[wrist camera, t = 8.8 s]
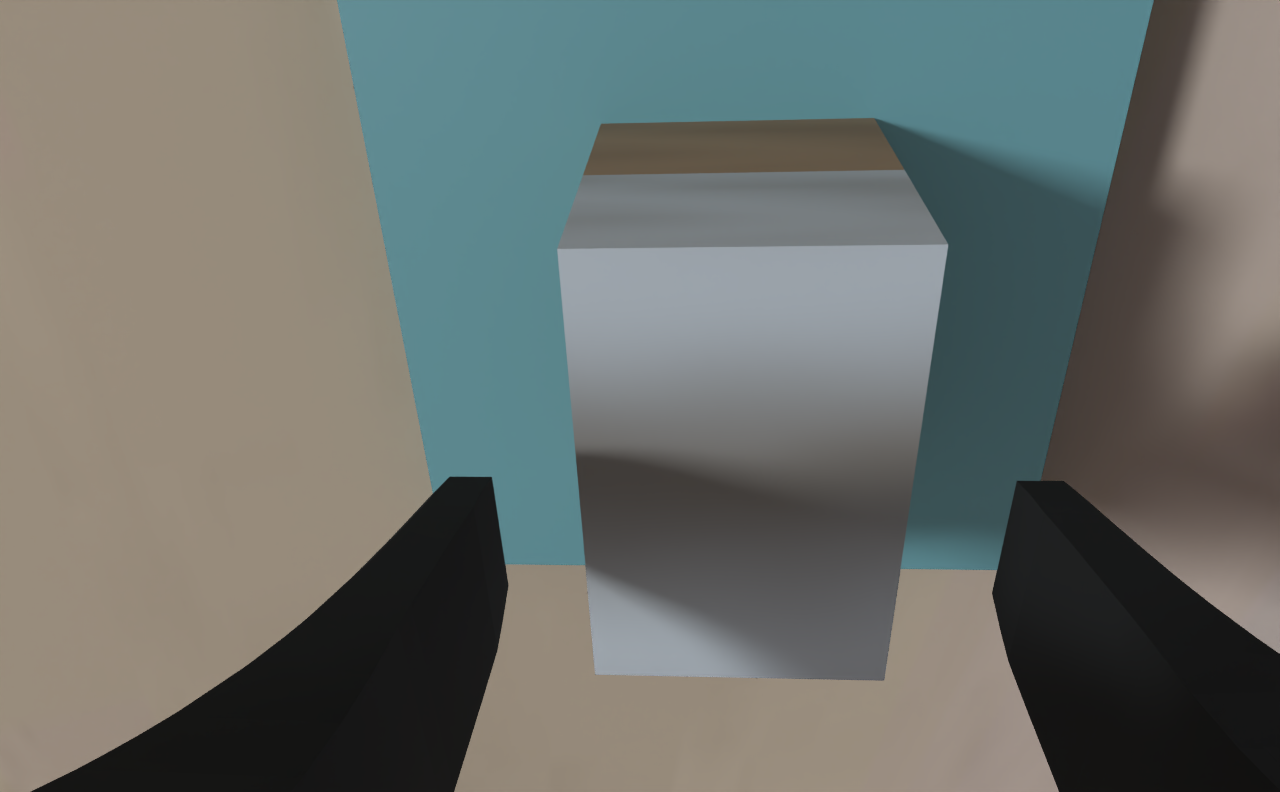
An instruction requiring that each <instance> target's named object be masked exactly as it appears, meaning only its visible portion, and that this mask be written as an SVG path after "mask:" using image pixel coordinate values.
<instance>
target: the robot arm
mask: <svg viewBox="0 0 1280 792" xmlns="http://www.w3.org/2000/svg"><path fill="white" fill-rule="evenodd" d="M507 591H508V580H507V573H506V566H505V560H504V553H503V547H502V540H501V533H500V527H499V520H498V513H497V507H496V500H495V494H494V487H493V480H492V477H451V476H450V477H449V478H448V479H447V480H446V481H445V482H444V483H443V484H442V485H441V486H440V487H439V488H438V489H437V490H436V491H435V492H434V493H433V494H432V495H431V496H430V497H429V498H428V499H427V500H426V501H425V503H424V504H423V505H422V506H421V507H420V508H419V509H418V510H417V511H416V512H415V513H414V514H413V515H412V517H411V518H410V519H409V520H408V521H407V522H406V523H405V524H404V525H403V526H402V527H401V528H400V529H399V530H398V531H397V532H396V533H395V535H394V536H393V537H392V538H391V539H390V540H389V541H388V542H387V543H386V544H385V545H384V546H383V547H382V548H381V549H380V550H379V551H378V552H377V553H376V554H375V555H374V556H373V557H372V558H371V559H370V560H369V561H368V562H367V563H366V564H365V565H364V566H363V567H362V568H361V569H360V570H359V571H358V572H357V573H356V574H355V575H354V576H353V577H352V578H351V579H350V580H349V581H348V582H346V583H345V584H344V585H343V586H342V587H341V588H340V589H339V590H338V591H337V592H336V593H334V594H333V595H332V596H331V597H330V598H329V599H328V600H327V601H326V602H325V603H324V604H322V605H321V606H320V607H319V608H318V609H317V610H316V611H315V612H314V613H313V614H311V615H310V616H309V617H308V618H307V619H306V620H305V621H303V622H302V623H301V624H300V625H299V626H297V627H296V628H295V629H294V630H292V631H291V632H290V633H289V634H287V635H286V636H285V637H284V638H282V639H281V640H280V641H278V642H277V643H276V644H275V645H273V646H272V647H271V648H269V649H268V650H267V651H265V652H264V653H263V654H262V655H260V656H259V657H258V658H256V659H255V660H254V661H252V662H251V663H250V664H248V665H247V666H245V667H244V668H243V669H241V670H240V671H238V672H237V673H235V674H234V675H232V676H231V677H229V678H228V679H226V680H225V681H223V682H222V683H220V684H219V685H217V686H216V687H214V688H213V689H211V690H210V691H208V692H207V693H205V694H204V695H202V696H201V697H199V698H198V699H196V700H195V701H193V702H192V703H190V704H189V705H187V706H186V707H184V708H183V709H181V710H180V711H178V712H177V713H175V714H173V715H172V716H170V717H169V718H167V719H165V720H164V721H162V722H160V723H158V724H157V725H155V726H153V727H152V728H150V729H148V730H147V731H145V732H143V733H142V734H140V735H138V736H137V737H135V738H133V739H131V740H129V741H128V742H126V743H124V744H122V745H120V746H119V747H117V748H115V749H113V750H111V751H110V752H108V753H106V754H104V755H103V756H101V757H99V758H97V759H95V760H93V761H91V762H89V763H88V764H86V765H84V766H82V767H80V768H78V769H76V770H74V771H72V772H70V773H68V774H66V775H64V776H62V777H60V778H58V779H56V780H54V781H52V782H50V783H48V784H46V785H44V786H41V787H39V788H37V789H35V790H33V791H31V792H454V790H455V787H456V784H457V780H458V777H459V774H460V771H461V768H462V764H463V761H464V758H465V755H466V751H467V748H468V745H469V742H470V738H471V735H472V732H473V729H474V725H475V722H476V719H477V716H478V712H479V709H480V706H481V703H482V700H483V696H484V693H485V690H486V686H487V683H488V680H489V676H490V673H491V670H492V666H493V663H494V660H495V656H496V653H497V649H498V644H499V638H500V633H501V627H502V622H503V616H504V609H505V603H506V597H507ZM992 595H993V599H994V604H995V608H996V612H997V617H998V621H999V626H1000V630H1001V634H1002V638H1003V642H1004V646H1005V650H1006V654H1007V657H1008V661H1009V664H1010V666H1011V669H1012V672H1013V675H1014V677H1015V680H1016V682H1017V685H1018V688H1019V690H1020V693H1021V695H1022V698H1023V701H1024V703H1025V706H1026V708H1027V711H1028V714H1029V716H1030V719H1031V721H1032V724H1033V726H1034V729H1035V731H1036V734H1037V736H1038V739H1039V742H1040V744H1041V747H1042V749H1043V752H1044V754H1045V757H1046V759H1047V762H1048V764H1049V767H1050V770H1051V772H1052V775H1053V777H1054V780H1055V782H1056V785H1057V787H1058V790H1059V792H1280V654H1279V653H1278V652H1276V651H1275V650H1273V649H1272V648H1270V647H1269V646H1267V645H1266V644H1265V643H1263V642H1262V641H1260V640H1259V639H1257V638H1256V637H1255V636H1253V635H1252V634H1251V633H1249V632H1248V631H1247V630H1245V629H1244V628H1242V627H1241V626H1240V625H1238V624H1237V623H1236V622H1234V621H1233V620H1232V619H1230V618H1229V617H1228V616H1226V615H1225V614H1224V613H1222V612H1221V611H1220V610H1218V609H1217V608H1216V607H1214V606H1213V605H1212V604H1210V603H1209V602H1208V601H1206V600H1205V599H1204V598H1203V597H1201V596H1200V595H1199V594H1198V593H1196V592H1195V591H1194V590H1192V589H1191V588H1190V587H1189V586H1187V585H1186V584H1185V583H1184V582H1182V581H1181V580H1180V579H1179V578H1177V577H1176V576H1175V575H1174V574H1173V573H1171V572H1170V571H1169V570H1168V569H1167V568H1165V567H1164V566H1163V565H1162V564H1160V563H1159V562H1158V561H1157V560H1156V559H1154V558H1153V557H1152V556H1151V555H1150V554H1149V553H1147V552H1146V551H1145V550H1144V549H1143V548H1141V547H1140V546H1139V545H1138V544H1137V543H1136V542H1134V541H1133V540H1132V539H1131V538H1130V537H1129V536H1127V535H1126V534H1125V533H1124V532H1123V531H1122V530H1121V529H1119V528H1118V527H1117V526H1116V525H1115V524H1114V523H1112V522H1111V521H1110V520H1109V519H1108V518H1107V517H1106V516H1104V515H1103V514H1102V513H1101V512H1100V511H1099V510H1097V509H1096V508H1095V507H1094V506H1093V505H1092V504H1091V503H1089V502H1088V501H1087V500H1086V499H1085V498H1084V497H1082V496H1081V495H1080V494H1079V493H1078V492H1076V491H1075V490H1074V489H1073V488H1072V487H1070V486H1069V485H1068V484H1067V483H1065V482H1064V481H1017V482H1016V486H1015V491H1014V496H1013V500H1012V505H1011V509H1010V514H1009V518H1008V523H1007V528H1006V532H1005V537H1004V541H1003V546H1002V550H1001V555H1000V560H999V564H998V569H997V573H996V578H995V582H994V587H993V592H992Z"/></svg>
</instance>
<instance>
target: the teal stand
mask: <svg viewBox="0 0 1280 792" xmlns="http://www.w3.org/2000/svg"><path fill="white" fill-rule="evenodd" d="M1153 1H1154V0H337V2H338V7H339V13H340V18H341V23H342V28H343V33H344V38H345V43H346V49H347V54H348V59H349V64H350V69H351V74H352V79H353V85H354V90H355V95H356V100H357V105H358V110H359V115H360V121H361V126H362V131H363V136H364V141H365V146H366V151H367V157H368V162H369V167H370V172H371V177H372V182H373V187H374V192H375V198H376V203H377V208H378V213H379V218H380V223H381V228H382V234H383V239H384V244H385V249H386V254H387V259H388V264H389V270H390V275H391V280H392V285H393V290H394V295H395V300H396V306H397V311H398V316H399V321H400V326H401V331H402V336H403V342H404V347H405V352H406V357H407V362H408V367H409V372H410V378H411V383H412V388H413V393H414V398H415V403H416V408H417V414H418V419H419V424H420V429H421V434H422V439H423V444H424V450H425V455H426V460H427V465H428V470H429V475H430V480H431V485H432V491H433V493H434V492H435V491H436V490H437V489H438V488H439V487H440V486H441V485H442V484H443V483H444V482H445V481H446V480H447V479H448V478H449V477H450V476H451V477H492V480H493V487H494V494H495V500H496V507H497V513H498V520H499V527H500V533H501V540H502V547H503V553H504V560H505V564H535V565H585V555H584V543H583V532H582V521H581V510H580V499H579V487H578V476H577V465H576V454H575V443H574V431H573V420H572V409H571V398H570V387H569V375H568V364H567V353H566V342H565V331H564V319H563V308H562V297H561V286H560V275H559V263H558V252H557V248H558V245H559V242H560V240H561V237H562V234H563V231H564V228H565V225H566V222H567V219H568V217H569V214H570V211H571V208H572V205H573V202H574V199H575V197H576V194H577V191H578V188H579V185H580V182H581V179H582V176H583V174H584V171H585V168H586V165H587V162H588V159H589V156H590V154H591V151H592V148H593V145H594V142H595V139H596V136H597V133H598V131H599V128H600V125H601V124H608V123H656V122H704V121H752V120H800V119H847V118H874V119H875V120H876V122H877V124H878V125H879V127H880V129H881V131H882V132H883V134H884V136H885V137H886V139H887V141H888V142H889V144H890V146H891V148H892V149H893V151H894V153H895V154H896V156H897V158H898V160H899V161H900V163H901V165H902V166H903V168H904V170H905V171H906V173H907V175H908V177H909V178H910V180H911V182H912V183H913V185H914V187H915V189H916V190H917V192H918V194H919V195H920V197H921V199H922V200H923V202H924V204H925V206H926V207H927V209H928V211H929V212H930V214H931V216H932V218H933V219H934V221H935V223H936V224H937V226H938V228H939V229H940V231H941V233H942V235H943V236H944V238H945V240H946V241H947V243H948V250H947V257H946V264H945V270H944V277H943V284H942V291H941V298H940V304H939V311H938V318H937V325H936V332H935V338H934V345H933V352H932V359H931V365H930V372H929V379H928V386H927V393H926V399H925V406H924V413H923V420H922V427H921V433H920V440H919V447H918V454H917V461H916V467H915V474H914V481H913V488H912V494H911V501H910V508H909V515H908V522H907V528H906V535H905V542H904V549H903V556H902V562H901V569H961V570H997V569H998V564H999V560H1000V555H1001V550H1002V546H1003V541H1004V537H1005V532H1006V528H1007V523H1008V518H1009V514H1010V509H1011V505H1012V500H1013V496H1014V491H1015V486H1016V482H1017V481H1041V477H1042V473H1043V469H1044V464H1045V460H1046V456H1047V452H1048V447H1049V443H1050V439H1051V435H1052V430H1053V426H1054V422H1055V418H1056V413H1057V409H1058V405H1059V401H1060V396H1061V392H1062V388H1063V384H1064V379H1065V375H1066V371H1067V367H1068V362H1069V358H1070V354H1071V350H1072V345H1073V341H1074V337H1075V333H1076V328H1077V324H1078V320H1079V316H1080V311H1081V307H1082V303H1083V299H1084V294H1085V290H1086V286H1087V282H1088V277H1089V273H1090V269H1091V265H1092V260H1093V256H1094V252H1095V248H1096V243H1097V239H1098V235H1099V231H1100V226H1101V222H1102V218H1103V214H1104V209H1105V205H1106V201H1107V197H1108V192H1109V188H1110V184H1111V180H1112V175H1113V171H1114V167H1115V163H1116V158H1117V154H1118V150H1119V146H1120V141H1121V137H1122V133H1123V129H1124V124H1125V120H1126V116H1127V112H1128V107H1129V103H1130V99H1131V95H1132V90H1133V86H1134V82H1135V78H1136V73H1137V69H1138V65H1139V61H1140V56H1141V52H1142V48H1143V44H1144V39H1145V35H1146V31H1147V27H1148V22H1149V18H1150V14H1151V10H1152V5H1153Z"/></svg>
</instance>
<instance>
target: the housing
mask: <svg viewBox="0 0 1280 792" xmlns="http://www.w3.org/2000/svg"><path fill="white" fill-rule="evenodd" d="M947 250H948V243H947V241H946V240H945V238H944V236H943V235H942V233H941V231H940V229H939V228H938V226H937V224H936V223H935V221H934V219H933V218H932V216H931V214H930V212H929V211H928V209H927V207H926V206H925V204H924V202H923V200H922V199H921V197H920V195H919V194H918V192H917V190H916V189H915V187H914V185H913V183H912V182H911V180H910V178H909V177H908V175H907V173H906V171H905V170H904V168H903V166H902V165H901V163H900V161H899V160H898V158H897V156H896V154H895V153H894V151H893V149H892V148H891V146H890V144H889V142H888V141H887V139H886V137H885V136H884V134H883V132H882V131H881V129H880V127H879V125H878V124H877V122H876V120H875V119H874V118H847V119H800V120H752V121H704V122H656V123H608V124H601V125H600V128H599V131H598V133H597V136H596V139H595V142H594V145H593V148H592V151H591V154H590V156H589V159H588V162H587V165H586V168H585V171H584V174H583V176H582V179H581V182H580V185H579V188H578V191H577V194H576V197H575V199H574V202H573V205H572V208H571V211H570V214H569V217H568V219H567V222H566V225H565V228H564V231H563V234H562V237H561V240H560V242H559V245H558V248H557V252H558V263H559V275H560V286H561V297H562V308H563V319H564V331H565V342H566V353H567V364H568V375H569V387H570V398H571V409H572V420H573V431H574V443H575V454H576V465H577V476H578V487H579V499H580V510H581V521H582V532H583V543H584V555H585V566H586V577H587V588H588V599H589V611H590V622H591V633H592V644H593V655H594V667H595V674H596V675H644V676H692V677H740V678H788V679H836V680H884V678H885V671H886V664H887V657H888V651H889V644H890V637H891V630H892V623H893V617H894V610H895V603H896V596H897V590H898V583H899V576H900V569H901V562H902V556H903V549H904V542H905V535H906V528H907V522H908V515H909V508H910V501H911V494H912V488H913V481H914V474H915V467H916V461H917V454H918V447H919V440H920V433H921V427H922V420H923V413H924V406H925V399H926V393H927V386H928V379H929V372H930V365H931V359H932V352H933V345H934V338H935V332H936V325H937V318H938V311H939V304H940V298H941V291H942V284H943V277H944V270H945V264H946V257H947Z"/></svg>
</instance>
